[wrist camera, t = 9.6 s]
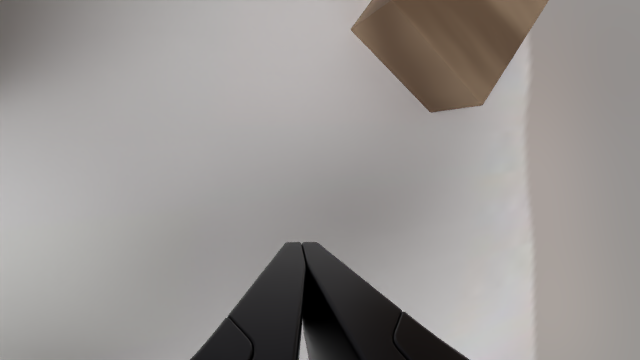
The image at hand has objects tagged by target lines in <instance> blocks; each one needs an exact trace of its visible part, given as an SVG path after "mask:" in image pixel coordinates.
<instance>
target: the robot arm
mask: <svg viewBox="0 0 640 360" xmlns="http://www.w3.org/2000/svg"><path fill="white" fill-rule="evenodd" d="M302 323H303V330H304V336H305V341H306V346H307V351H308V357H309V360H469V359H468V358H466V357H465V356H464V355H462V354H461V353H459V352H458V351H456V350H455V349H454V348H452V347H451V346H449V345H448V344H446V343H445V342H444V341H442V340H441V339H439V338H438V337H437V336H435V335H434V334H433V333H431V332H430V331H429V330H427V329H426V328H425V327H423V326H422V325H421V324H419V323H418V322H417V321H416V320H414V319H413V318H412V317H411V316H409V315H408V314H407V313H406V312H402V310H401V309H400V308H398V307H397V306H396V305H395V304H393V303H392V302H391V301H390V300H388V299H387V298H386V297H385V296H383V295H382V294H381V293H380V292H379V291H377V290H376V289H375V288H374V287H372V286H371V285H370V284H369V283H367V282H366V281H365V280H364V279H362V278H361V277H360V276H359V275H357V274H356V273H355V272H354V271H352V270H351V269H350V268H349V267H347V266H346V265H345V264H344V263H342V262H341V261H340V260H339V259H337V258H336V257H335V256H334V255H332V254H331V253H330V252H329V251H327V250H326V249H325V248H324V247H322V246H321V245H320V244H319V243H317V242H304V243H302V244H301V243H300V242H287V243H285V244H284V246H283V247H282V248H281V249H280V251H279V252H278V253H277V254H276V256H275V257H274V258H273V259H272V261H271V262H270V263H269V265H268V266H267V267H266V268H265V270H264V271H263V272H262V273H261V275H260V276H259V277H258V278H257V280H256V281H255V282H254V284H253V285H252V286H251V287H250V289H249V290H248V291H247V292H246V294H245V295H244V296H243V298H242V299H241V300H240V301H239V303H238V304H237V305H236V306H235V308H234V309H233V310H232V311H231V313H230V314H229V315H228V317H227V318H225V319H224V321H223V322H222V323H221V325H220V326H219V327H218V328H217V330H216V331H215V332H214V333H213V334H212V336H211V337H210V338H209V339H208V340H207V342H206V343H205V344H204V345H203V346H202V347H201V349H200V350H199V351H198V352H197V353H196V354H195V355H194V356H193V357H192V358H191V359H190V360H299V353H300V341H301V330H302Z"/></svg>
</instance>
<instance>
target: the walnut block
mask: <svg viewBox="0 0 640 360" xmlns="http://www.w3.org/2000/svg"><path fill="white" fill-rule="evenodd" d="M548 1H549V0H372V1H371V2H370V4H369V5H368V6H367V8H366V9H365V11H364V12H363V13H362V15H361V16H360V17H359V19H358V20H357V21H356V23H355V24H354V26H353V27H352V28H351V31H352V32H353V33H354V34H355V35H356V36H357V37H358V38H359V39H360V40H361V41H362V42H363V43H364V44H365V45H366V46H367V47H368V48H369V49H370V50H371V51H372V52H373V53H374V54H375V55H376V57H377V58H378V59H379V60H380V61H381V62H382V63H383V64H384V65H385V66H386V67H387V68H388V69H389V70H390V71H391V72H392V73H393V74H394V75H395V76H396V77H397V78H398V79H399V80H400V81H401V82H402V83H403V85H404V86H405V87H406V88H407V89H408V90H409V91H410V92H411V93H412V94H413V95H414V96H415V97H416V98H417V99H418V100H419V101H420V102H421V103H422V104H423V105H424V106H425V107H426V108H427V109H428V110H429V111H430V112H437V111H444V110H452V109H459V108H466V107H473V106H481V105H483V103H484V102H485V100H486V99H487V97H488V96H489V94H490V92H491V91H492V89H493V88H494V86H495V84H496V83H497V81H498V80H499V78H500V77H501V75H502V73H503V72H504V70H505V69H506V67H507V65H508V64H509V62H510V61H511V59H512V58H513V56H514V54H515V53H516V51H517V50H518V48H519V47H520V45H521V43H522V42H523V40H524V39H525V37H526V35H527V34H528V32H529V31H530V29H531V28H532V26H533V24H534V23H535V21H536V20H537V18H538V16H539V15H540V13H541V12H542V10H543V8H544V7H545V5H546V4H547V2H548Z"/></svg>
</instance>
